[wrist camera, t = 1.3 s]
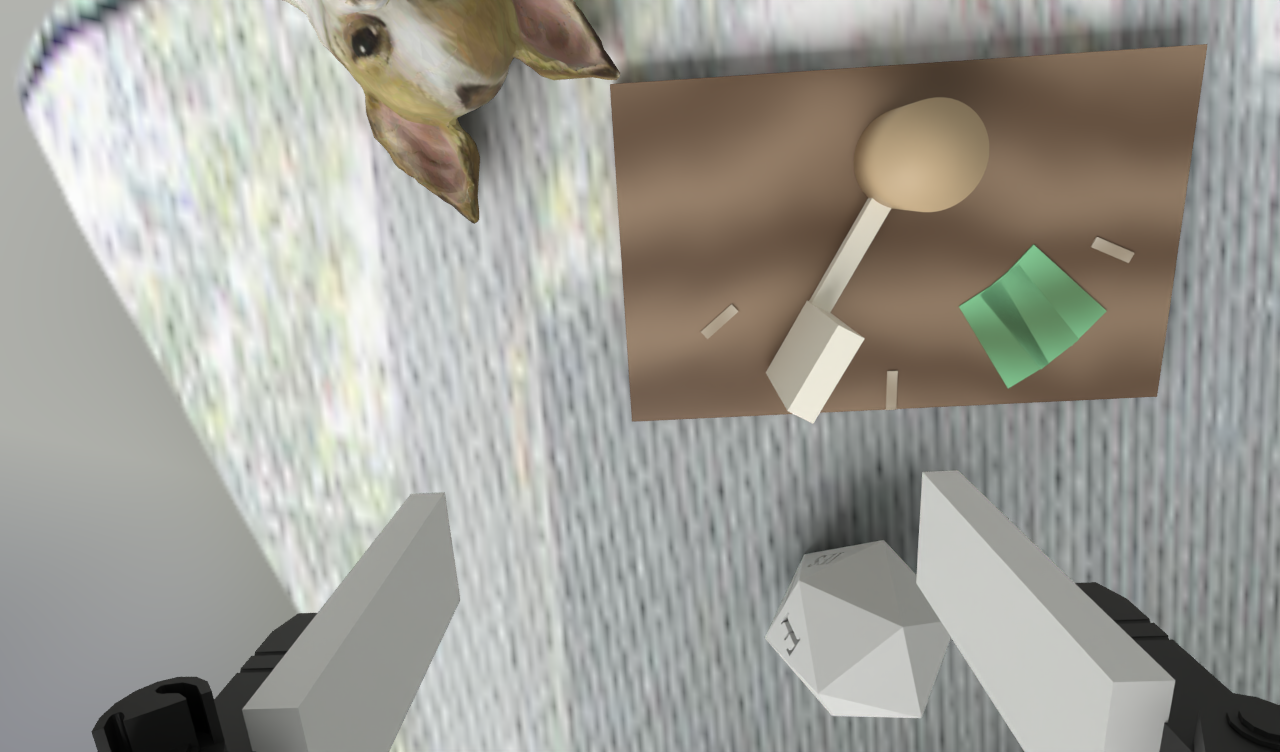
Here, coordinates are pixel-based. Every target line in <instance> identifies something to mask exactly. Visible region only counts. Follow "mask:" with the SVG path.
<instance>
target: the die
mask: <svg viewBox="0 0 1280 752" xmlns="http://www.w3.org/2000/svg"><path fill="white" fill-rule="evenodd" d="M916 579H917V575H916V574H915V573H914V572H913V571H912V570H911V569H910V568H909V566H908V565H907V564H906V563H905V562H904V561H903V560H902V559H901V558H900V557H899V556H898V555H897V554H896V553H895V552H894V550H893V549H892V548H891V547H890V546H889V545H888V544H887V543H886V542H885V541H884V540H881V541H875V542H870V543H864V544H859V545H853V546H847V547H842V548H836V549H831V550H825V551H820V552H814V553H809V554H804V556H803V558H802V560H801V562H800V564H799V566H798V568H797V571H796V573H795V575H794V577H793V579H792V582H791V584H790V585H789V587H788V590H787V592H786V594H785V596H784V598H783V600H782V602H781V604H780V606H779V609H778V611H777V613H776V615H775V617H774V619H773V621H772V623H771V625H770V628H769V630H768V632H767V634H766V636H765V639H766V640H767V641H768V642H769V643H770V645H771V646H772V647H773V648H774V649H775V650H776V651H777V653H778V654H779V655H780V656H781V657H782V658H783V660H784V661H785V662H786V663H787V664H788V665H789V666H790V668H791V669H792V670H793V671H794V672H795V673H796V675H797V676H798V677H799V678H800V679H801V680H802V682H803V683H804V684H805V685H806V686H807V687H808V688H809V690H810V691H811V692H812V693H813V694H814V695H815V697H816V698H817V699H818V700H819V701H820V702H821V703H822V705H823V706H824V707H825V708H826V709H827V710H828V712H829V713H830V714H831V715H832V716H858V717H899V718H922V716H923V713H924V710H925V708H926V705H927V702H928V699H929V697H930V694H931V691H932V688H933V686H934V683H935V680H936V678H937V675H938V672H939V669H940V667H941V664H942V661H943V658H944V656H945V653H946V650H947V647H948V645H949V642H950V639H951V636H950V635H949V633H948V632H947V630H946V629H945V627H944V625H943V624H942V622H941V621H940V619H939V618H938V616H937V615H936V613H935V611H934V610H933V608H932V607H931V605H930V604H929V602H928V601H927V599H926V597H925V596H924V594H923V593H922V591H921V590H920V588H919V587H918V585H917V583H916Z"/></svg>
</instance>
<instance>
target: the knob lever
mask: <svg viewBox="0 0 1280 752" xmlns="http://www.w3.org/2000/svg"><path fill="white" fill-rule="evenodd" d="M988 159H989V138H988V134H987V130H986V128H985V126H984V123H983V122H982V120H981V118H980V117H979V116H978V115H977V113H976V112H975V111H974V110H973V109H972V108H970V107H969V106H967V105H966V104H964V103H962V102H960V101H958V100H955V99H951V98H945V97H935V98H928V99H925V100H921V101H918V102H915V103H912V104H908V105H905V106H902V107H899V108H896V109H893V110H890V111H888V112H885V113H884V114H882V115H880V116H879V117H877V118H876V119H875V120H874V121H873V122H871V123H870V124H869V126H868V127H867V128H866V129H865V131H864V132H863V134H862V135H861V137H860V139H859V141H858V144H857V147H856V150H855V155H854V171H855V176H856V179H857V182H858V184H859V186H860V188H861V189H862V191H863V192H864V194H865V195H866V196H867V197H868V199H867V201H866V203H865V204H864V206H863V208H862V210H861V211H860V213H859V215H858V217H857V218H856V220H855V222H854V224H853V225H852V227H851V229H850V231H849V232H848V234H847V236H846V238H845V239H844V241H843V243H842V245H841V246H840V248H839V250H838V252H837V253H836V255H835V257H834V258H833V260H832V262H831V264H830V265H829V267H828V269H827V271H826V272H825V274H824V276H823V278H822V279H821V281H820V283H819V285H818V286H817V288H816V290H815V292H814V293H813V295H812V297H811V299H810V300H809V301H806V303H805V305H804V307H803V308H802V310H801V312H800V314H799V315H798V317H797V319H796V321H795V322H794V324H793V326H792V328H791V329H790V331H789V333H788V335H787V336H786V338H785V340H784V342H783V343H782V345H781V347H780V349H779V350H778V352H777V354H776V355H775V357H774V359H773V361H772V362H771V364H770V366H769V368H768V369H767V371H766V374H767V376H768V378H769V379H770V381H771V383H772V385H773V386H774V388H775V390H776V392H777V393H778V395H779V397H780V399H781V400H782V402H783V404H784V406H785V407H786V409H787V411H788V412H790V413H792V414H794V415H796V416H798V417H801V418H803V419H805V420H807V421H809V422H811V423H814V421H815V420H816V418H817V416H818V415H819V413H820V412H821V410H822V408H823V407H824V405H825V403H826V402H827V400H828V398H829V397H830V395H831V393H832V392H833V390H834V388H835V387H836V385H837V383H838V382H839V380H840V379H841V377H842V375H843V374H844V372H845V370H846V369H847V367H848V365H849V364H850V362H851V360H852V359H853V357H854V355H855V354H856V352H857V350H858V349H859V347H860V345H861V344H862V342H863V341H864V339H865V338H863V337H862V336H861V335H859V334H858V333H857V332H855V331H854V330H853V329H851V328H850V327H849V326H847V325H846V324H845V323H843V322H842V321H841V320H839V319H838V318H837V317H835V316H834V315H833V314H831V313H830V312H831V311H832V309H833V307H834V305H835V304H836V302H837V300H838V299H839V297H840V295H841V293H842V292H843V290H844V288H845V287H846V285H847V283H848V281H849V280H850V278H851V276H852V275H853V273H854V271H855V270H856V268H857V266H858V264H859V263H860V261H861V259H862V258H863V256H864V254H865V252H866V251H867V249H868V247H869V246H870V244H871V242H872V240H873V239H874V237H875V235H876V234H877V232H878V230H879V229H880V227H881V225H882V223H883V222H884V220H885V218H886V217H887V215H888V213H889V211H890V210H891V209H899V210H908V211H918V212H936V211H941V210H945V209H947V208H950V207H952V206H954V205H956V204H958V203H959V202H961V201H962V200H964V199H965V198H966V197H967V196H968V195H969V194H971V192H972V191H973V190H974V189H975V188H976V186H977V185H978V184H979V182H980V180H981V179H982V177H983V175H984V172H985V170H986V167H987V163H988Z"/></svg>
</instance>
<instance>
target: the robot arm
mask: <svg viewBox="0 0 1280 752" xmlns="http://www.w3.org/2000/svg"><path fill="white" fill-rule="evenodd" d="M916 583H917V585H918V587H919V588H920V590H921V591H922V593H923V594H924V596H925V597H926V599H927V601H928V602H929V604H930V605H931V607H932V608H933V610H934V611H935V613H936V615H937V616H938V618H939V619H940V621H941V622H942V624H943V625H944V627H945V629H946V630H947V632H948V633H949V635H950V636H951V638H952V639H953V641H954V643H955V644H956V646H957V647H958V649H959V650H960V652H961V654H962V655H963V657H964V658H965V660H966V661H967V663H968V664H969V666H970V668H971V669H972V671H973V672H974V674H975V675H976V677H977V678H978V680H979V682H980V683H981V685H982V686H983V688H984V689H985V691H986V692H987V694H988V696H989V697H990V699H991V700H992V702H993V703H994V705H995V706H996V708H997V710H998V711H999V713H1000V714H1001V716H1002V717H1003V719H1004V720H1005V722H1006V724H1007V725H1008V727H1009V728H1010V730H1011V731H1012V733H1013V734H1014V736H1015V738H1016V739H1017V741H1018V742H1019V744H1020V745H1021V747H1022V748H1023V750H1024V752H1280V705H1277V704H1274V703H1271V702H1268V701H1266V700H1263V699H1260V698H1257V697H1252V696H1246V695H1240V694H1235V693H1232V692H1231V691H1230V690H1229V689H1227V688H1226V687H1225V686H1224V685H1223V684H1222V683H1221V682H1220V681H1218V680H1217V679H1216V678H1215V677H1214V676H1213V675H1212V674H1211V673H1209V672H1208V671H1207V670H1206V669H1205V668H1204V667H1203V666H1202V665H1201V664H1199V663H1198V662H1197V661H1196V660H1195V659H1194V658H1193V657H1192V656H1190V655H1189V654H1188V653H1187V652H1186V651H1185V650H1184V649H1183V648H1181V647H1180V646H1179V645H1178V644H1177V643H1176V642H1175V641H1174V640H1169V639H1168V635H1167V634H1166V633H1165V632H1164V631H1162V630H1161V629H1160V628H1159V627H1158V626H1157V625H1156V624H1155V623H1150V621H1149V618H1148V617H1147V616H1146V615H1144V614H1143V613H1142V612H1141V611H1140V610H1139V609H1138V608H1137V607H1136V606H1134V605H1133V604H1132V603H1131V602H1130V601H1129V600H1128V599H1126V598H1124V597H1122V596H1121V595H1119V594H1117V593H1115V592H1113V591H1111V590H1109V589H1107V588H1106V587H1104V586H1102V585H1100V584H1098V583H1096V582H1092V583H1074V582H1073V581H1072V580H1071V579H1070V578H1069V577H1068V576H1067V575H1066V574H1065V573H1064V572H1063V571H1062V570H1061V569H1060V568H1059V567H1057V566H1056V565H1055V564H1054V563H1053V562H1052V561H1051V560H1050V559H1049V558H1048V557H1047V556H1046V555H1045V554H1044V553H1043V552H1042V551H1041V550H1040V549H1039V548H1038V547H1037V546H1036V545H1035V544H1034V543H1033V542H1032V541H1031V540H1030V539H1029V538H1027V537H1026V536H1025V535H1024V534H1023V533H1022V532H1021V531H1020V530H1019V529H1018V528H1017V527H1016V526H1015V525H1014V524H1013V523H1012V522H1011V521H1010V520H1009V519H1008V518H1007V517H1006V516H1005V515H1004V514H1003V513H1002V512H1001V511H1000V510H998V509H997V508H996V507H995V506H994V505H993V504H992V503H991V502H990V501H989V500H988V499H987V498H986V497H985V496H984V495H983V494H982V493H981V492H980V491H979V490H978V489H977V488H976V487H975V486H974V485H973V484H972V483H971V482H970V481H968V480H967V479H966V478H965V477H964V476H963V475H962V474H961V473H960V472H959V471H958V470H955V471H932V472H922V489H921V507H920V525H919V543H918V561H917V579H916ZM459 601H460V595H459V588H458V581H457V574H456V567H455V560H454V554H453V547H452V540H451V533H450V526H449V519H448V512H447V505H446V498H445V492H444V493H420V494H411V495H410V496H409V497H408V498H407V500H406V501H405V502H404V504H403V505H402V506H401V507H400V509H399V510H398V511H397V512H396V514H395V515H394V516H393V518H392V519H391V520H390V521H389V523H388V524H387V525H386V526H385V528H384V529H383V530H382V532H381V533H380V534H379V535H378V537H377V538H376V539H375V541H374V542H373V543H372V544H371V546H370V547H369V548H368V549H367V551H366V552H365V553H364V555H363V556H362V557H361V558H360V560H359V561H358V562H357V563H356V565H355V566H354V567H353V569H352V570H351V571H350V572H349V574H348V575H347V576H346V577H345V579H344V580H343V581H342V583H341V584H340V585H339V586H338V588H337V589H336V590H335V592H334V593H333V594H332V595H331V597H330V598H329V599H328V600H327V602H326V603H325V604H324V606H323V607H322V608H321V609H320V611H319V612H318V613H300V614H297V615H296V616H294V617H293V618H291V619H290V620H289V621H287V622H285V623H284V624H283V625H281V626H280V627H278V628H277V629H275V630H274V631H272V633H271V634H270V635H269V636H268V637H267V638H266V640H265V641H264V642H263V643H262V645H261V646H260V647H259V648H258V649H257V650H256V652H255V656H251V657H250V658H249V660H248V661H247V662H246V663H245V664H244V665H243V667H242V668H241V671H240V673H237V674H236V675H235V676H234V677H233V678H232V680H231V681H230V682H229V683H228V684H227V685H226V687H225V688H224V689H223V690H222V691H221V692H220V694H219V695H218V696H217V697H216V698H215V699H213V695H212V691H211V689H210V686H209V684H208V682H207V681H205V680H202V679H200V678H198V677H176V678H172V679H168V680H163V681H160V682H156V683H154V684H152V685H149V686H146V687H144V688H142V689H139V690H137V691H135V692H133V693H132V694H130V695H128V696H127V697H125V698H123V699H122V700H120V701H119V702H117V703H115V704H114V705H113V706H112V707H111V708H110V709H109V710H108V711H106V712H105V713H104V714H103V715H102V716H101V717H100V718H99V720H98V721H97V723H96V725H95V727H94V728H93V730H92V735H93V738H94V741H95V744H96V747H97V750H98V752H389V751H390V749H391V746H392V744H393V742H394V740H395V738H396V736H397V734H398V731H399V729H400V727H401V725H402V723H403V721H404V719H405V717H406V714H407V712H408V710H409V708H410V706H411V704H412V702H413V700H414V697H415V695H416V693H417V691H418V689H419V687H420V685H421V682H422V680H423V678H424V676H425V674H426V672H427V670H428V668H429V665H430V663H431V661H432V659H433V657H434V655H435V653H436V650H437V648H438V646H439V644H440V642H441V640H442V638H443V636H444V633H445V631H446V629H447V627H448V625H449V623H450V621H451V619H452V616H453V614H454V612H455V610H456V608H457V606H458V604H459Z"/></svg>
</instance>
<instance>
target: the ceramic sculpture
mask: <svg viewBox="0 0 1280 752" xmlns="http://www.w3.org/2000/svg"><path fill="white" fill-rule="evenodd" d="M283 1H286V2H288V3H290V4H291V5H293V6H295V7H297V8H298V9H300V10H301V11H302V12H304V13H305V14H306V15H307V17H308V19H309V21H310V23H311V25H312V26H313V28H314V29H315V31H316V32H317V35H318V38H319V40H320V42H321V43H322V44H323V45H324V46H325V47H326V48H327V49H328V50H329V51H330V52H331V53H332V54H333V55H334V56H335V58H336V59H337V60H338V61H340V62H341V63H342V64H343V65H344V66H345V68H346V69H347V70H348V71H349V72H350V73H351V75H352V76H353V77H354V79H355V80H356V81H357V82H358V83H359V84H360V85H361V87H362V88H363V90H364V93H365V103H366V113H367V117H368V120H369V123H370V126H371V129H372V132H373V135H374V138H375V139H376V140H377V141H378V142H379V143H380V144H381V145H382V146H383V147H384V148H385V149H386V150H387V151H388V153H389V154H390V156H391V158H392V160H393V162H394V163H395V165H396V166H397V167H398V168H400V169H401V170H403V171H404V172H405V173H406V174H408V175H409V176H411V177H413V178H415V179H416V180H417V182H418V183H420V184H421V185H423V186H424V187H426V188H427V189H428V190H430V191H431V192H432V193H434V194H436V195H437V196H438V197H440V198H441V199H442V200H444V201H445V202H447V203H449V204H451V205H452V206H453V207H454V208H455V209H457V210H458V211H459V212H460V213H461V214H462V215H463V216H464V217H466V218H467V219H468V220H469V221H471V222H472V223H474V224H475V223H476V222H477V221H478V220H479V205H478V181H479V164H480V156H479V152H478V149H477V146H476V144H475V142H474V141H473V139H472V138H471V136H470V135H469V134H468V133H467V132H466V131H465V130H463V129H462V127H461V126H460V124H459V122H458V119H457V118H458V117H460V116H462V115H464V114H466V113H468V112H471V111H473V110H475V109H477V108H479V107H481V106H483V105H484V104H486V103H488V102H489V101H490V100H491V99H492V98H494V97H495V95H496V94H497V93H498V91H499V90H500V89H501V87H502V85H503V82H504V80H505V78H506V76H507V74H508V69H509V65H510V63H511V62H512V60H513V58H514V57H515V58H517V59H519V60H521V61H522V62H524V63H525V64H526V65H527V66H529V67H531V68H532V69H533V70H535V71H536V72H537V73H538V74H539V75H541V76H543V77H546V78H549V79H552V80H561V79H574V78H588V77H594V78H600V79H607V80H617V79H618V78H619V77H620V72H619V71H618V69H617V68H616V66H615V64H614V63H613V61H612V60H611V58H610V57H609V55H608V54H607V53H606V51H605V50H604V48H603V45H602V42H601V40H600V38H599V37H598V36H597V34H596V32H595V31H594V29H593V28H592V26H591V25H590V23H589V22H588V20H587V19H586V17H585V16H584V14H583V13H582V11H581V10H580V9H579V8H578V6H577V5H576V4H575V2H574V1H573V0H283Z"/></svg>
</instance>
